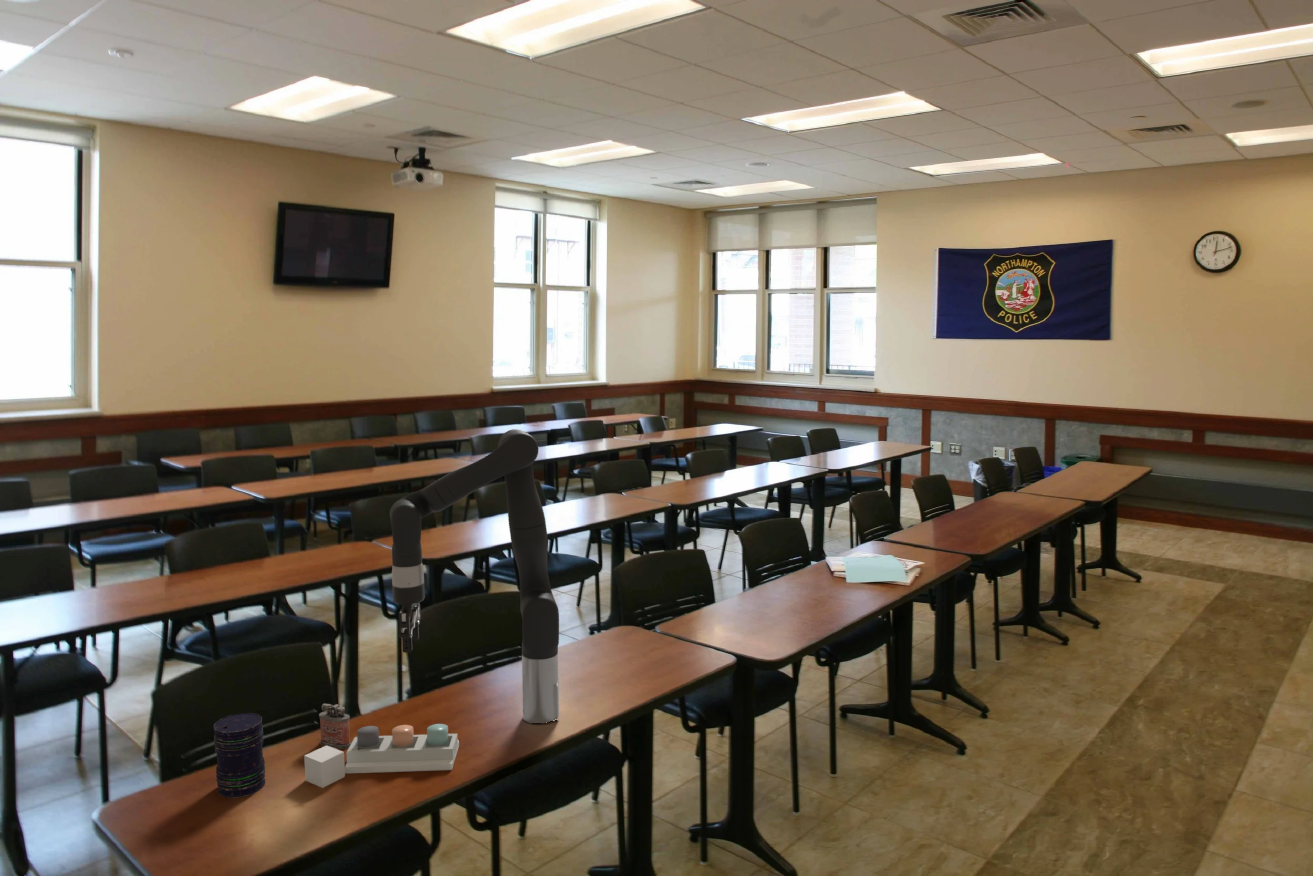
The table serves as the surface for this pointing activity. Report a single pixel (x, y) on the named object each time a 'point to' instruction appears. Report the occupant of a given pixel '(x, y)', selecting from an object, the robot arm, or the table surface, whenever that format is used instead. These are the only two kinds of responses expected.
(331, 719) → the lighter
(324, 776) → the white cube
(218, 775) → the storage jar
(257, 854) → the table surface
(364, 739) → the charcoal button
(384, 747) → the button board
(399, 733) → the terracotta button
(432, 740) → the teal button
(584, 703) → the table surface
